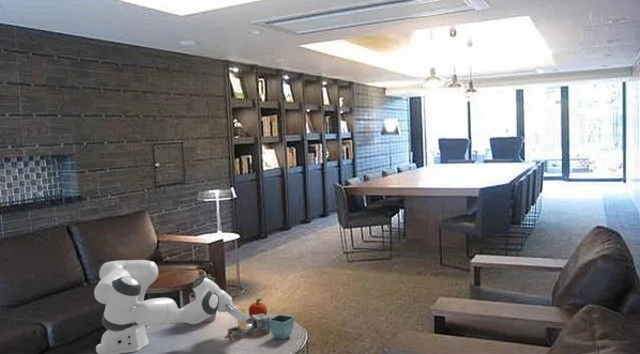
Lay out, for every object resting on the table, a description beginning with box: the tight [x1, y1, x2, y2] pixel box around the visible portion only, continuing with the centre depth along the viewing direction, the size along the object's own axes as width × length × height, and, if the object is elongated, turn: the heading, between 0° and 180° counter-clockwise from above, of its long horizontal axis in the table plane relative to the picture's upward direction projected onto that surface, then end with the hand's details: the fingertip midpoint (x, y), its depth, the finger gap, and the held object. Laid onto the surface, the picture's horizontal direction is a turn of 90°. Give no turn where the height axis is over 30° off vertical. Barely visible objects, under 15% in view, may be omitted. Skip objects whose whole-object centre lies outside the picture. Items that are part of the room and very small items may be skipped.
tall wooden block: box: [236, 306, 257, 330], centre depth 265 cm, size 10×3×12 cm, turn 119°
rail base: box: [227, 313, 271, 341], centre depth 265 cm, size 18×8×7 cm, turn 119°
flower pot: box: [269, 314, 295, 340], centre depth 259 cm, size 9×9×9 cm
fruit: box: [248, 298, 268, 319], centre depth 286 cm, size 10×10×10 cm
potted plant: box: [188, 269, 218, 323], centre depth 286 cm, size 18×20×25 cm
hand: (243, 319), depth 263 cm, fingers open, 3 cm apart
